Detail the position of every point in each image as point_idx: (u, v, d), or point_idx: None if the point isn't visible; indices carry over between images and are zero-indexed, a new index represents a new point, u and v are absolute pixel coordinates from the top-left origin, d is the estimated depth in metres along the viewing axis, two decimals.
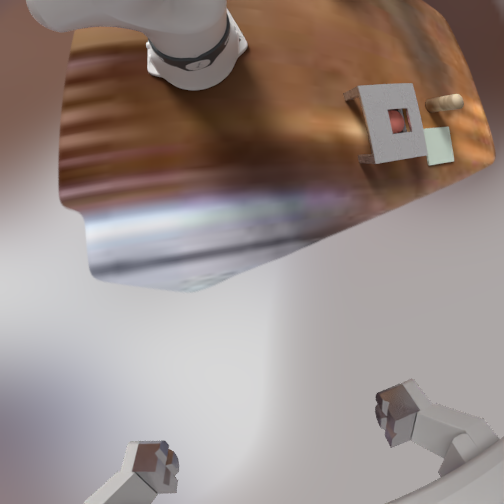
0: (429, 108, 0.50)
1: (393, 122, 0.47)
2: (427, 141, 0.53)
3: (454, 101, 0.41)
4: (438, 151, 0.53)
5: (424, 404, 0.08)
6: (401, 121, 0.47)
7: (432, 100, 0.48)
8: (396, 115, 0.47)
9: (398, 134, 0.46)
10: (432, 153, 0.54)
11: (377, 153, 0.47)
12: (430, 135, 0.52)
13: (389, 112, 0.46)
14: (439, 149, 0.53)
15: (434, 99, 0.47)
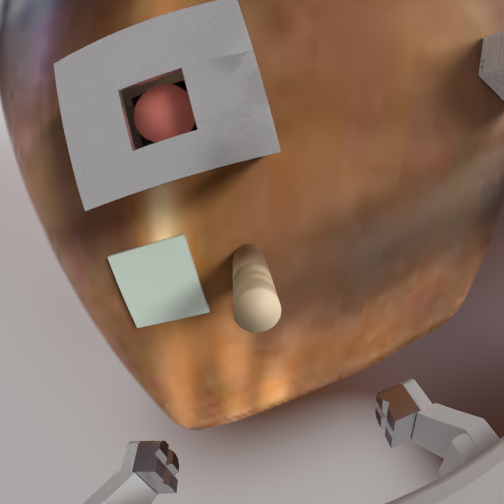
0: (239, 252, 0.27)
1: (159, 108, 0.19)
2: (156, 248, 0.27)
3: (253, 297, 0.18)
4: (143, 282, 0.28)
5: (424, 404, 0.08)
6: (166, 132, 0.19)
7: (258, 255, 0.25)
8: (180, 116, 0.19)
9: (118, 107, 0.17)
10: (134, 264, 0.27)
11: (73, 60, 0.15)
12: (171, 256, 0.27)
13: (184, 95, 0.19)
14: (147, 284, 0.28)
15: (261, 258, 0.25)
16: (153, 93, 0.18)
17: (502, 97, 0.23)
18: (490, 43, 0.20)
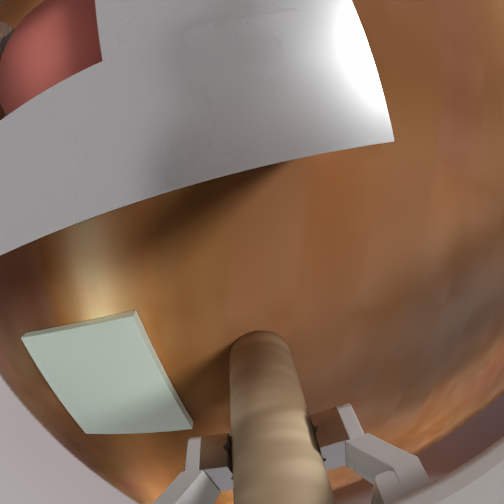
0: (242, 352, 0.13)
1: (44, 43, 0.05)
2: (89, 335, 0.13)
3: None
4: (79, 381, 0.14)
5: (355, 433, 0.08)
6: None
7: (282, 367, 0.12)
8: (85, 51, 0.05)
9: None
10: (59, 355, 0.13)
11: None
12: (116, 349, 0.13)
13: None
14: (86, 385, 0.14)
15: (289, 379, 0.11)
16: (39, 14, 0.05)
17: None
18: None
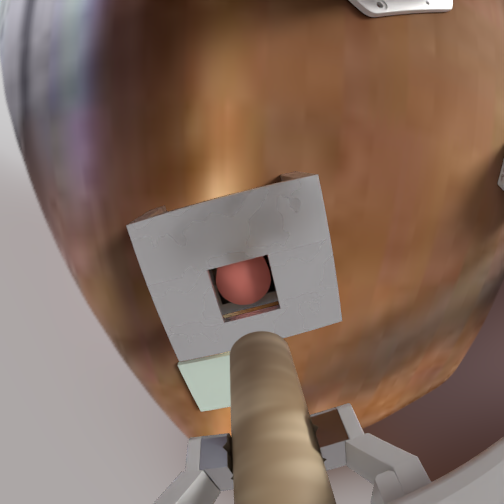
0: (242, 353, 0.13)
1: (240, 276, 0.24)
2: (222, 360, 0.32)
3: None
4: (209, 382, 0.33)
5: (355, 433, 0.08)
6: (246, 297, 0.25)
7: (282, 368, 0.12)
8: (259, 284, 0.24)
9: (208, 285, 0.22)
10: (202, 370, 0.32)
11: (150, 228, 0.20)
12: None
13: (263, 266, 0.24)
14: (213, 383, 0.33)
15: (289, 379, 0.11)
16: None
17: None
18: None
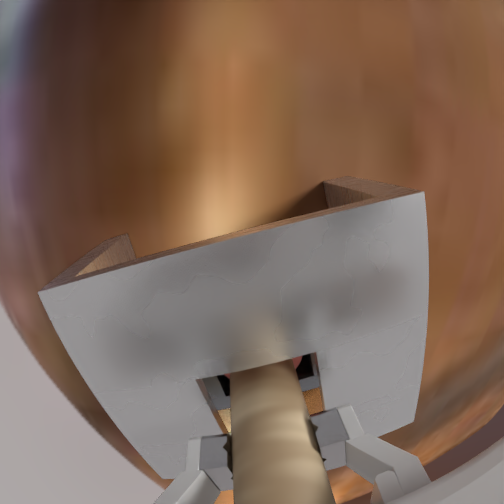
0: None
1: None
2: None
3: None
4: None
5: (354, 433, 0.08)
6: None
7: (282, 368, 0.12)
8: None
9: (200, 401, 0.11)
10: None
11: (78, 301, 0.09)
12: None
13: None
14: None
15: (289, 379, 0.11)
16: None
17: None
18: None
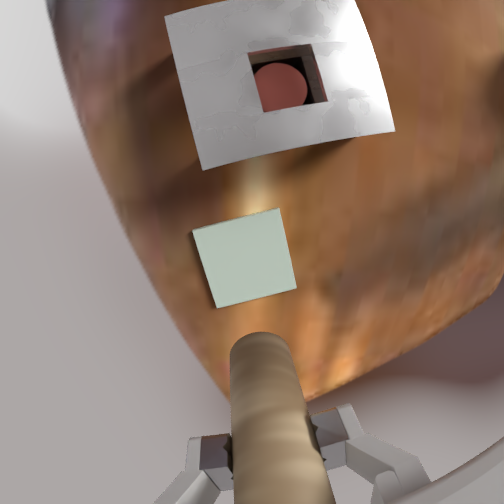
0: (242, 353, 0.13)
1: (276, 84, 0.21)
2: (249, 221, 0.27)
3: None
4: (231, 257, 0.28)
5: (355, 433, 0.08)
6: (283, 105, 0.21)
7: (282, 368, 0.12)
8: (295, 93, 0.21)
9: (248, 68, 0.17)
10: (222, 238, 0.27)
11: (190, 16, 0.15)
12: (265, 229, 0.27)
13: (299, 76, 0.21)
14: (235, 259, 0.28)
15: (289, 380, 0.11)
16: (270, 69, 0.20)
17: None
18: None
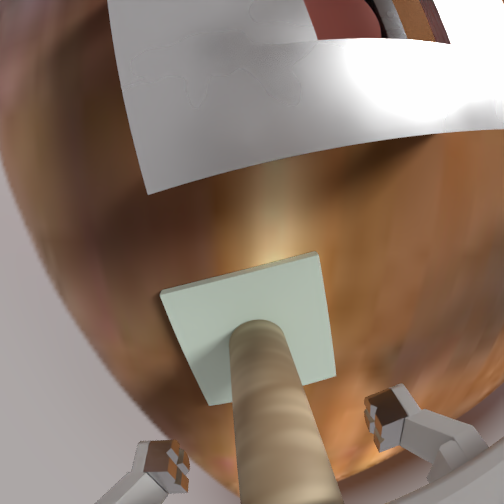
0: (241, 339, 0.14)
1: (323, 13, 0.08)
2: (264, 279, 0.15)
3: None
4: None
5: (412, 409, 0.08)
6: None
7: (279, 351, 0.13)
8: (360, 34, 0.09)
9: None
10: (214, 308, 0.15)
11: None
12: (291, 292, 0.15)
13: (364, 6, 0.08)
14: None
15: (285, 361, 0.12)
16: None
17: None
18: None
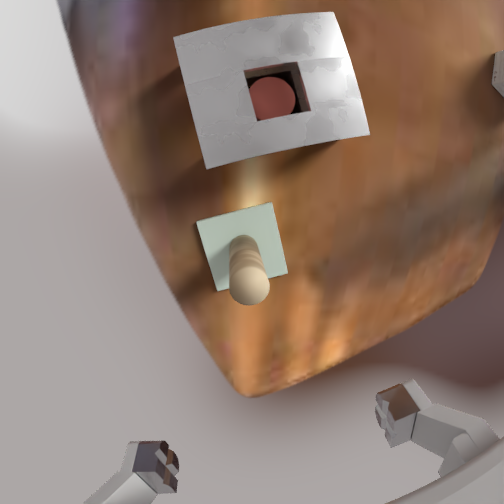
0: (235, 241, 0.30)
1: (268, 95, 0.25)
2: (246, 214, 0.31)
3: (246, 274, 0.22)
4: (229, 245, 0.32)
5: (424, 404, 0.08)
6: (274, 114, 0.25)
7: (251, 243, 0.29)
8: (285, 103, 0.25)
9: (244, 83, 0.21)
10: (222, 229, 0.31)
11: (195, 38, 0.19)
12: (259, 221, 0.31)
13: (288, 88, 0.25)
14: None
15: (253, 246, 0.29)
16: (263, 82, 0.24)
17: None
18: (501, 58, 0.25)
